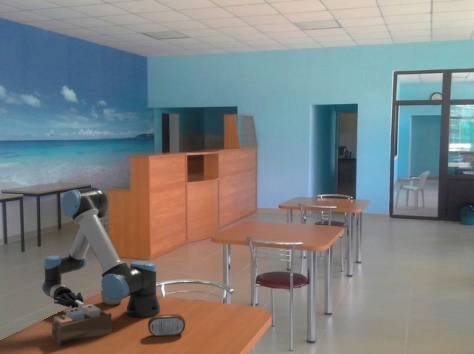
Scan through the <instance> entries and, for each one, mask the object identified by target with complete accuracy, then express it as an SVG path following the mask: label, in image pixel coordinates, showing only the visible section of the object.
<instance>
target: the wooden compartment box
mask: <svg viewBox="0 0 474 354" xmlns="http://www.w3.org/2000/svg"><path fill="white" fill-rule="evenodd" d="M70 319H71V318H70ZM72 320H73V319H72ZM112 330H113V329H112V313H106V311H103V310H101V309H100V316H97V317H93V318H92V317H91V316H89V315H88V314H84V320H81V321H77V322H76V321H74V320H73V323H69V324H65V325H61V326H60V325H59V324H57V323H56V322H55V321H54V320H53V321H51V339H52V340H53V341H54V342H56V343H57V344H58V345H59V346H61V347H64V346H65V347H66V346H69V345H73V344H75V343H80V342H84V341H87V340H90V339H94V338H98V337H102V336H106V335H109V334H112Z"/></svg>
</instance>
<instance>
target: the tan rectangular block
mask: <svg viewBox="0 0 474 354" xmlns="http://www.w3.org/2000/svg"><path fill="white" fill-rule="evenodd" d="M53 321H55V322H56V323H57V324H59V325H60V326H61V325H65V324H69V323H73V320H72V319H70V318H69V317H67V316H66V314H61V315H57V316H53Z"/></svg>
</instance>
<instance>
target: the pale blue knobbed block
mask: <svg viewBox="0 0 474 354" xmlns="http://www.w3.org/2000/svg"><path fill="white" fill-rule="evenodd" d="M65 315H66V316H67V317H69V318H71V319H73V320H74V321H76V322H77V321H81V320H84V312H82V311H81V310H79V309H78V308H76V307H75V308H72V307H71V308H68V309H65Z"/></svg>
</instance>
